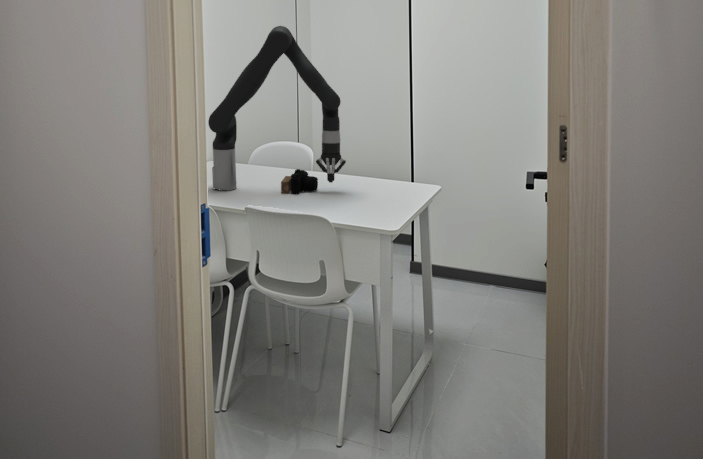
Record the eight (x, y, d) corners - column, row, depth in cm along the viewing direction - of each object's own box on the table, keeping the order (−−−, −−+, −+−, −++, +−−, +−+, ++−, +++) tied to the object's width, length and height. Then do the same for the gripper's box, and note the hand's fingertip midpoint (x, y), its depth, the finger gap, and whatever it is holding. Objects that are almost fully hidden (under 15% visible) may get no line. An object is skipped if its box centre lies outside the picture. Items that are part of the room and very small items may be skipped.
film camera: (311, 196, 301) (310, 174, 299) (288, 194, 303) (288, 173, 301) (320, 187, 316) (320, 167, 313) (299, 186, 318) (298, 166, 315)
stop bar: (281, 193, 304) (281, 181, 303) (285, 187, 315) (285, 176, 313) (288, 193, 304) (288, 181, 303) (292, 187, 315) (292, 176, 313)
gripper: (313, 142, 299) (314, 183, 304) (346, 142, 298) (345, 184, 303) (316, 139, 307) (316, 179, 312) (347, 139, 306) (347, 180, 311)
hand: (330, 182), depth 307 cm, fingers closed
